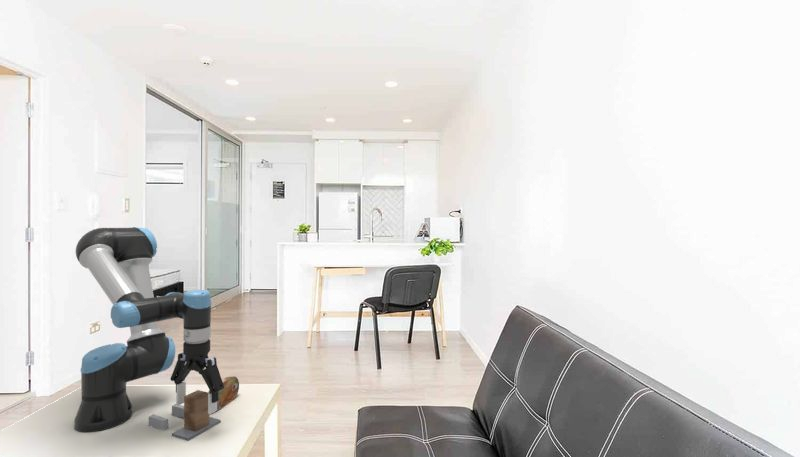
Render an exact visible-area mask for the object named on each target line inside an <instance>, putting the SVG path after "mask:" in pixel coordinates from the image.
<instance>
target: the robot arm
mask: <svg viewBox="0 0 800 457" xmlns="http://www.w3.org/2000/svg"><path fill="white" fill-rule="evenodd" d="M157 249H158V242H157V240H156V237H155V235H154V233H153V232H152V231H151V230H149V229H148V228H145V227H135V226H134V227H99V228H95V229H92V230H90V231H89V230H88V232H86V233H85V234H84V235H82V236H81V238H80V239H79V240H78V242H77V244H76V247H75V257H76V259H77V262H79V264H80V265H81V266H82V267H83V268H85V269H88V270H89V271H90V273H91V274H92V276H93V278H94V279H95V280H96V282H97V283H98V285H99V287H100V288H101V289H102V291H103V292H104V293H105V295H106V296H107V298H108V299H109V301H110V302H111V304H112V307H111V308H110V319H111V323H112V325H113V326H114V327H116V328H119V329H122V328H129V329H130V336H129V338H128V339H127V340H126V344H127V345H126V344H125V343H121V342H120V343H119V342H118V343H117V342H115V343H110V344H106V345H102V346H98V347H96V348H94V349H93V348H92V349H91V350H89V351H88V352H86V353H85V354H84V355H83V357H82V358H81V367H80V373H81V376H80V377H81V380H80V381H81V382H80V383H81V385H80V386H81V387H80V388H81V389H80V390H81V400H80V405H79V407H78V410H77V412H76V415H75V418H74V422H73V423H74V425H73V426H74V429H75V430H76V431H78V432H82V433H92V432H98V431H104V430H107V429H110V428H113V427H116V426H118V425H121V424H123V423H125V422H127V421H129V419H130V418H131V417H132V416H133V404H132V403H131V400H130V398H129V396H128V392H127V383H128V382H133V381H136V380H140V379H142V378H145V377H149V376H152V375H157V374H159V373H161V372H164V371H167V370H168V369H170V368H171V367H172V366H173V363H174V360H175V358H176V344H175V341H174V340H173V338H172V337H170V336H166V332H165V331H164V330H163V329H161V328H160V325H159V322H161V321H166V320H171V319H183V320H182V321H183V341H184V342H183V346H182V347H183V350H182V351H183V352H181V353H178V354H177V361H176V362H175V363H176V364H175V366H174V369H173V372H172V373H171V375H170V381H171V382H174V384H175V394H176V400H175V402H176V403H175V404H176V405H183V404H184V396H186V395H187V393H186V392H187V391H186V390H187V382H186V378H187V377H188V376H189V374H190V373H191V371H195V372H196V373H198V374H199V375H201V377H202V378H203V381H204V382H205V384H206V386H207V388H208V392H209V390H210V392H209V393H208V414H209V415H212V414H213V413H215V412H216V411H218V410H217V401H218V391H220V390H222V389H224V385H223V382H222V380H223V379H222V376H221V373H220V371H219V368H218V365H217V364H218V362H217V357H216V356H215V357H213V358H209V352H210V351H211V336H212V335H211V319H212V318H211V317H212V316H211V315H212V314H211V312H212V301H211V292H210V291H209V290H206V289H191V290H190V289H189V290H187V291H185V292H184V293H183V292H179V291H177V292H174V291H173V292H172V291H171V292H168V293H167V294H165V295H160V296H154V291H153V284H152V279H151V278H152V277H151V273H150V267H149V265H150V264H151V263H152V262H153V257H155V256H156V255H157V252H158V250H157ZM213 387H214V388H213Z"/></svg>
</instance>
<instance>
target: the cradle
mask: <svg viewBox="0 0 800 457" xmlns="http://www.w3.org/2000/svg"><path fill="white" fill-rule="evenodd" d="M171 416H175V417H178V418H183V419H184V405H183V404H180V405H176V403H175V404H173V405H171ZM151 426H152V427H151ZM148 427H151V428H154V427H155V429H156V430H157V429H158V430H161V431H166V430H167V429H169V418H167V417H164V416H160V415H157V414H154V413H153V414H151V415H149V416H148Z"/></svg>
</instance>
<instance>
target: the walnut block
mask: <svg viewBox="0 0 800 457" xmlns="http://www.w3.org/2000/svg"><path fill="white" fill-rule="evenodd" d="M208 392H209V391H204V390H199V389H197V390H195V391H193V392H190V393H188V394H186V396H184V403H183V406H184V418H183V427H184V429H188V430H191V431H195V432H196V431H198V430H200V429H202V428H204V427H205V426H207V425H209V417H210V414H208Z"/></svg>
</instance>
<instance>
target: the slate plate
mask: <svg viewBox="0 0 800 457" xmlns="http://www.w3.org/2000/svg"><path fill="white" fill-rule="evenodd" d="M221 422H222V420H221V419H219V418H215V417H211V416H209V425H207V426H205V427H204V428H202V429H200V430H198V431H196V432H195V431H191V430H188V429H184V426H182V427H181V428H179V429H177V430H175V431H173V432H171V437H174V438H177V439H180V440H183V441H187V442H189V441H191V440H192V439H194V438H196V437H198V436H199V435H201V434H203V433H204V432H206V431H208V430H210V429H211V428H213V427H215V426H217V425H219V424H220V423H221Z"/></svg>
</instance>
